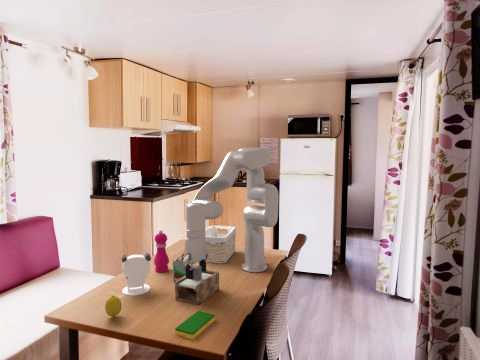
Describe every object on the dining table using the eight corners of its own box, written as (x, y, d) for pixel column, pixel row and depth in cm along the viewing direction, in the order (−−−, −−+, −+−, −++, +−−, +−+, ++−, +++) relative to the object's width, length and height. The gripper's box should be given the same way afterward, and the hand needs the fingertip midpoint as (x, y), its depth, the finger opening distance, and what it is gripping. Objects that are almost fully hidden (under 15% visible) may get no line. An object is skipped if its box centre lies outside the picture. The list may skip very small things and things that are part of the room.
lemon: (108, 313, 127) (107, 292, 126) (123, 313, 128) (122, 292, 127) (103, 321, 122) (102, 299, 121) (119, 320, 122) (118, 298, 121)
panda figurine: (150, 282, 156) (149, 250, 154) (152, 293, 145) (151, 258, 143) (122, 286, 152) (120, 252, 150) (122, 297, 141) (120, 261, 140)
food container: (185, 284, 154) (185, 262, 153) (172, 283, 155) (172, 261, 154) (195, 274, 166) (194, 253, 165) (182, 273, 167) (182, 252, 166)
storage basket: (226, 265, 178) (225, 236, 177) (196, 262, 182) (195, 235, 181) (237, 251, 202) (237, 226, 200) (210, 249, 205) (210, 224, 204)
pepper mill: (171, 268, 173) (171, 229, 171) (164, 273, 167) (163, 232, 164) (159, 266, 176) (158, 227, 174) (151, 271, 169) (150, 231, 167)
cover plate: (197, 273, 150) (197, 260, 150) (213, 276, 147) (213, 263, 146) (178, 285, 138) (178, 271, 137) (195, 289, 134) (195, 274, 134)
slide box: (197, 285, 153) (196, 268, 152) (219, 289, 148) (219, 272, 148) (175, 299, 139) (175, 281, 138) (199, 305, 134) (198, 286, 133)
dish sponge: (215, 321, 123) (215, 314, 123) (192, 340, 110) (192, 333, 110) (198, 316, 126) (198, 310, 126) (174, 335, 114) (174, 328, 113)
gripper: (199, 228, 149) (199, 266, 151) (175, 237, 134) (176, 280, 136) (214, 229, 146) (215, 269, 148) (192, 239, 131) (192, 284, 132)
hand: (196, 274), depth 142 cm, fingers open, 9 cm apart
